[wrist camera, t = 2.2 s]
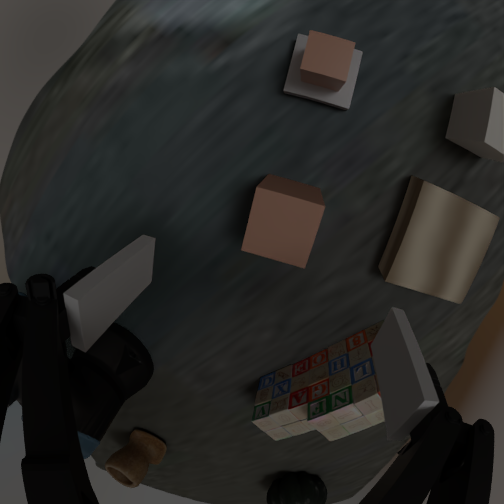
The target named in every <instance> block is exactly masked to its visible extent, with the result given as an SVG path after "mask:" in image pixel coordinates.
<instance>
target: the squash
mask: <svg viewBox="0 0 504 504" xmlns="http://www.w3.org/2000/svg"><path fill="white" fill-rule="evenodd" d="M326 499H327V489H326V486H325V485H324V482H323V481H322V480H321V479H320V478H319V477H317V476H309V475H308V474H307V473H300V474H298V475H296V474H294V473H288V474H286V475H285V476H284V477H283V478H278V479H276V480H274V481H273V483H272V485H271V487H270V488H269V490H268V492H267V503H268V504H325V502H326Z"/></svg>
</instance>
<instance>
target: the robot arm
mask: <svg viewBox="0 0 504 504" xmlns="http://www.w3.org/2000/svg"><path fill="white" fill-rule="evenodd" d="M154 248H155V238H153V237H150V236H146V235H142V236H141V237H139V238H138V239H136V240H135V241H133V242H132V243H130V244H129V245H128V246H126V247H125V248H123V249H122V250H120V251H119V252H118V253H116V254H115V255H113V256H112V257H111V258H109V259H108V260H107V261H105V262H104V263H102V264H101V265H100V266H98V267H97V268H95V267H92V266H91V267H88V268H85V269H82V270H81V271H80V272H78V273H77V274H76V275H75V276H73V277H71V278H70V280H67V281H66V282H65V283H63V284H62V285H61V286H59V287H58V288H57V289H56V286H55V280H54V278H53V277H52V276H50V275H48V274H36V275H34V276H31V277H30V278H29V279H27V281H26V283H25V284H26V290H27V295H28V296H27V295H26V294H24V293H22V292H18V289H17V286H16V285H14V284H12V283H2V284H0V441H1V435H2V429H3V425H4V420H5V416H6V411H7V407H9V406H10V405H11V404H12V403H13V402H14V401H16V400H17V401H18V402H19V403H20V404H21V406H22V421H23V431H24V442H25V451H26V456H25V458H23V459H22V462H21V467H22V468H21V469H22V475H23V482H24V487H25V492H26V497H27V501H28V504H99V502H98V500H97V497H96V495H95V493H94V491H93V489H92V486H91V483H90V480H89V477H88V473H87V470H86V466H85V462H84V459H86V458H88V457H89V456H90V455H91V454H92V453H93V451H94V450H95V449H96V447H97V446H98V445H99V444H100V441H101V439H102V438H103V436H104V434H105V433H106V431H107V429H108V428H109V426H110V424H111V423H112V421H113V419H114V418H115V416H116V414H117V413H118V411H119V409H120V408H121V406H122V404H123V403H124V402H125V400H127V399H128V398H130V397H131V396H132V395H134V394H135V393H137V392H138V391H139V390H141V389H142V388H143V387H145V386H146V385H147V383H148V382H149V380H150V378H151V377H152V375H153V370H154V368H153V362H152V359H151V357H150V355H149V353H148V351H147V350H146V348H145V347H144V346H143V344H142V343H141V342H140V341H139V340H138V339H137V338H136V337H135V336H134V335H133V334H131V333H130V332H129V331H127V330H126V329H124V328H123V327H121V326H119V325H117V324H115V323H113V322H114V321H115V320H116V319H117V318H118V317H119V315H120V314H121V313H122V312H123V311H124V310H125V309H126V308H127V307H128V306H129V305H130V304H131V303H132V302H133V301H134V300H135V299H136V297H137V296H138V295H139V294H140V293H141V292H142V291H143V290H144V289H145V288H146V287H147V286H148V285H149V284H150V283H151V282H152V270H153V259H154ZM69 336H70V338H71V343H72V346H74V347H76V349H75V351H74V354H73V357H72V358H71V359H69V358H68V357H67V352H66V343H65V340H66V339H67V338H68V337H69ZM371 349H372V354H373V359H374V363H375V368H376V373H377V378H378V384H379V389H380V394H381V400H382V406H383V412H384V418H385V425H386V431H387V438H388V440H396V441H402V440H403V439H404V438H405V437H406V436H407V435H408V434H410V436H411V441H410V442H409V443H407V445H405V446H404V447H403V448H402V449H401V450H400V451H399V452H398V454H399V456H398V457H397V458H396V460H395V461H394V462H393V464H392V465H391V466H390V467H389V469H388V470H387V471H386V473H385V474H384V475H383V476H382V477H381V479H380V480H379V481H378V482H377V483H376V485H375V486H374V487H373V488H372V489H371V491H370V492H369V493H368V494H367V495H366V496H365V497H364V498H363V499H362V500H361V502H360V503H359V504H422V503H423V501H424V500H425V498H426V497H427V495H428V493H429V491H430V490H431V491H430V495H429V497H428V501H427V504H489V498H490V491H491V483H492V472H493V459H494V430H493V427H492V425H491V424H490V423H489V422H488V421H486V420H484V419H478V420H477V421H476V422H475V423H474V424H473V425H470V424H467V423H464V422H463V421H462V417H461V415H460V414H459V412H457V411H456V409H454V408H452V407H448V405H447V402H446V399H445V396H444V393H443V391H442V388H441V387H440V383H439V380H438V377H437V375H436V372H435V370H434V369H433V368H432V366H431V365H430V364H429V363H425V361H424V358H423V355H422V353H421V350H420V348H419V345H418V343H417V341H416V338H415V336H414V333H413V331H412V329H411V326H410V324H409V322H408V319H407V317H406V315H405V313H404V311H403V310H402V309H398V308H394V307H391V309H390V311H389V313H388V315H387V317H386V319H385V320H384V322H383V324H382V326H381V328H380V330H379V331H378V333H377V335H376V337H375V339H374V340H373V342H372V344H371Z"/></svg>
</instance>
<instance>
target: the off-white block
mask: <svg viewBox="0 0 504 504" xmlns="http://www.w3.org/2000/svg"><path fill="white" fill-rule="evenodd" d="M445 138H446V139H448V140H450V141H452V142H454V143H456V144H458V145H460V146H461V147H463V148H465V149H467V150H469V151H470V152H472V153H474V154H476V155H477V156H479V157H481V158H485V159H490V160H494V161H498V162H502V163H504V93H502V92H501V91H499V90H498V89H497V88H495V87H490V88H485V89H479V90H474V91H468V92H463V93H458V94H455V96H454V102H453V106H452V111H451V116H450V120H449V125H448V129H447V133H446V137H445Z"/></svg>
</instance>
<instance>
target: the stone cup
mask: <svg viewBox="0 0 504 504" xmlns="http://www.w3.org/2000/svg"><path fill="white" fill-rule="evenodd" d="M166 449H167V448H166V444H165V443H164V442H163V441H162V440H160V439H159V438H157V437H155V436H154V435H152V434H150V433H147V432H145V431H142V430H139V429H135V430H134V431H133V432H132V433H131V435H130V441H129V443H128V444H127V445H126V446H125V447H123V448H122V449H120V450H118V451H117V452H115V453H114V454H112V455H111V457H110V458H109V459H108V460H107V462H106V463H105V468H106V470H107V472H108V473H109V474H110V475H111V476H112V477H113V478H114V479H115V480H117V481H118V482H119V483H121V484H123V485H124V486H127V487H131V488H134V487H137V486H138V485H139V484H140V483H141V482H142V480H143V479H144V477H145V475H146V474H147V471H148V467H149V463H151V464H159V463H160V462H161V461H162V459H163V457H164V455H165V453H166Z"/></svg>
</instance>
